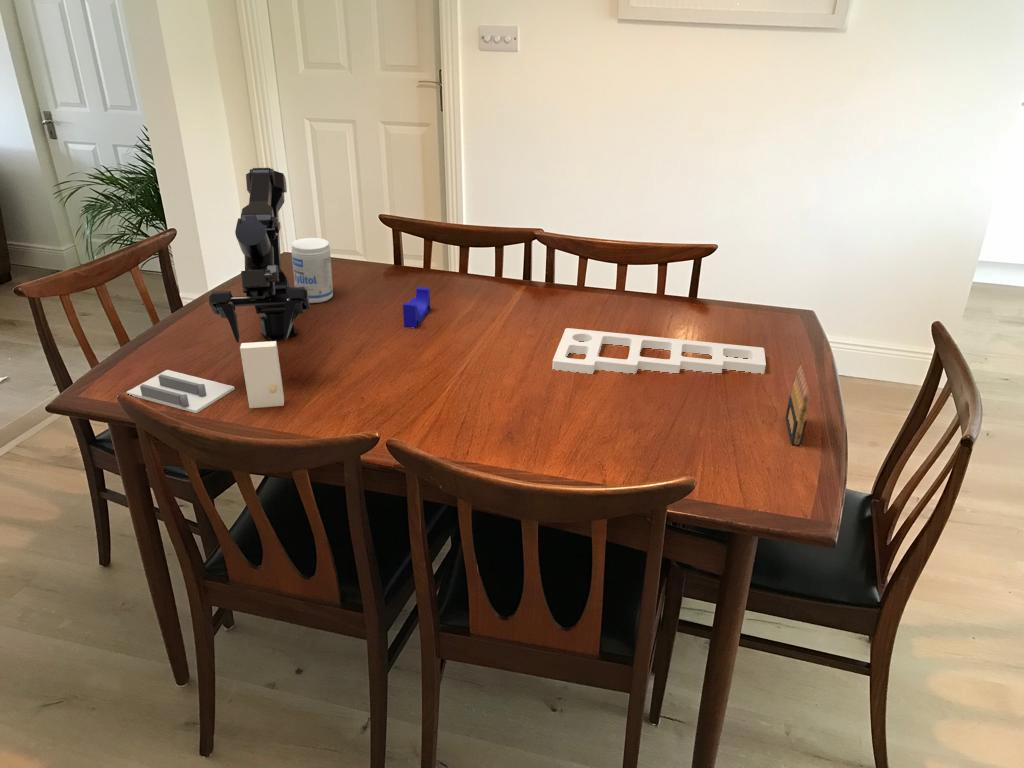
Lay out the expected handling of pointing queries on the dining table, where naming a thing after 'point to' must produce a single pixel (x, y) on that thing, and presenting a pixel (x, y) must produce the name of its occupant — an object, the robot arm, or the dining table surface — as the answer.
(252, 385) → the door panel
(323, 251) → the supplement tub
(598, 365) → the holder
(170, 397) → the slotted base plate
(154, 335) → the dining table surface
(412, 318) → the blue u-shaped block
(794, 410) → the tan blue flat packet
